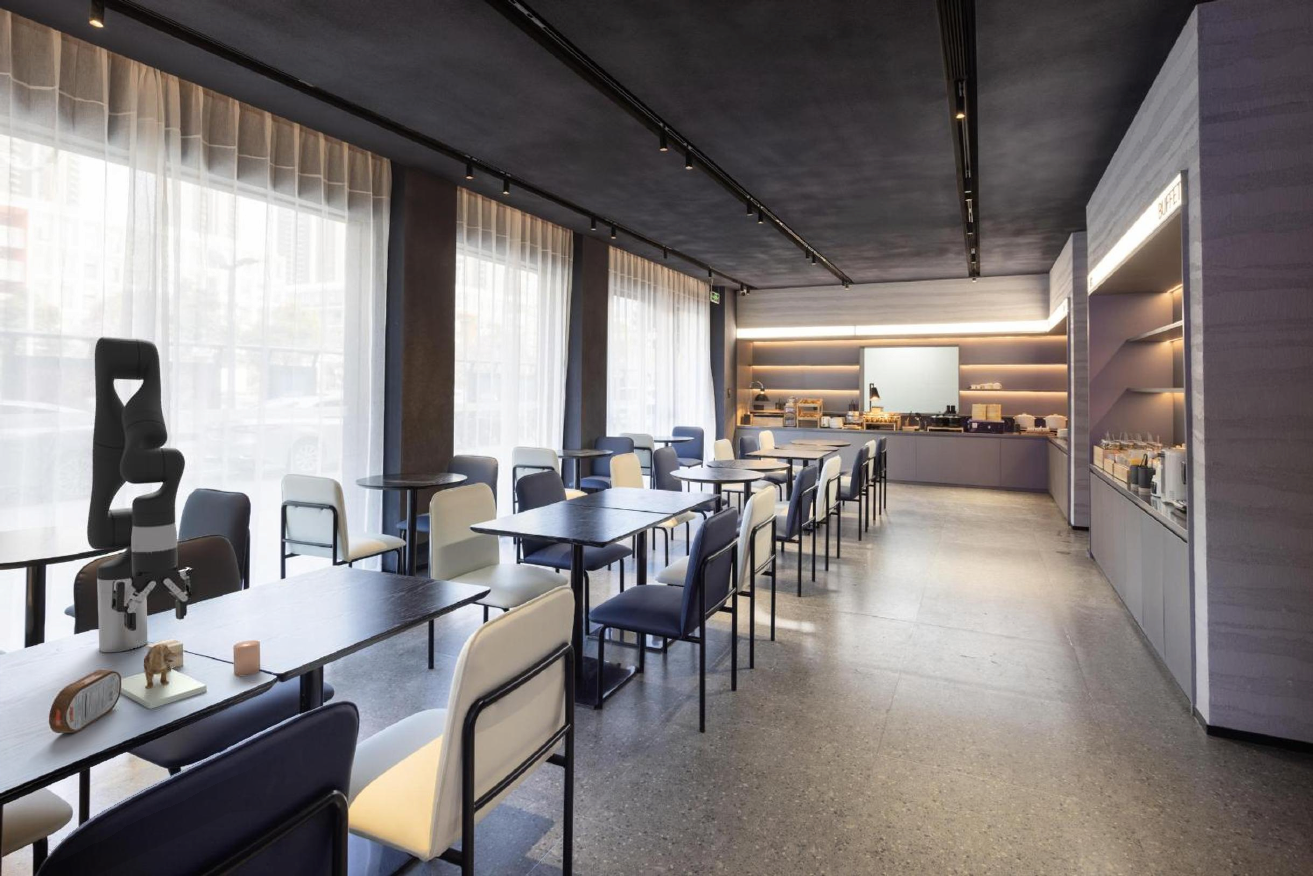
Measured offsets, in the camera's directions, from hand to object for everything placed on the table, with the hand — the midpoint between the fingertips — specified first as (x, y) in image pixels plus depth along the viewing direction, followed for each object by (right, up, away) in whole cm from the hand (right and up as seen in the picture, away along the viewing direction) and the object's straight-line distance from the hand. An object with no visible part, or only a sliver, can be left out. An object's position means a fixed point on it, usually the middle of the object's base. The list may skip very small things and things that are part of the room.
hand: (156, 624), depth 141 cm
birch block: (-7, -13, +13) cm, 20 cm away
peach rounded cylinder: (+12, -13, +10) cm, 21 cm away
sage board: (0, -14, +1) cm, 14 cm away
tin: (-2, -15, -14) cm, 20 cm away
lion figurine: (0, -12, +2) cm, 13 cm away
